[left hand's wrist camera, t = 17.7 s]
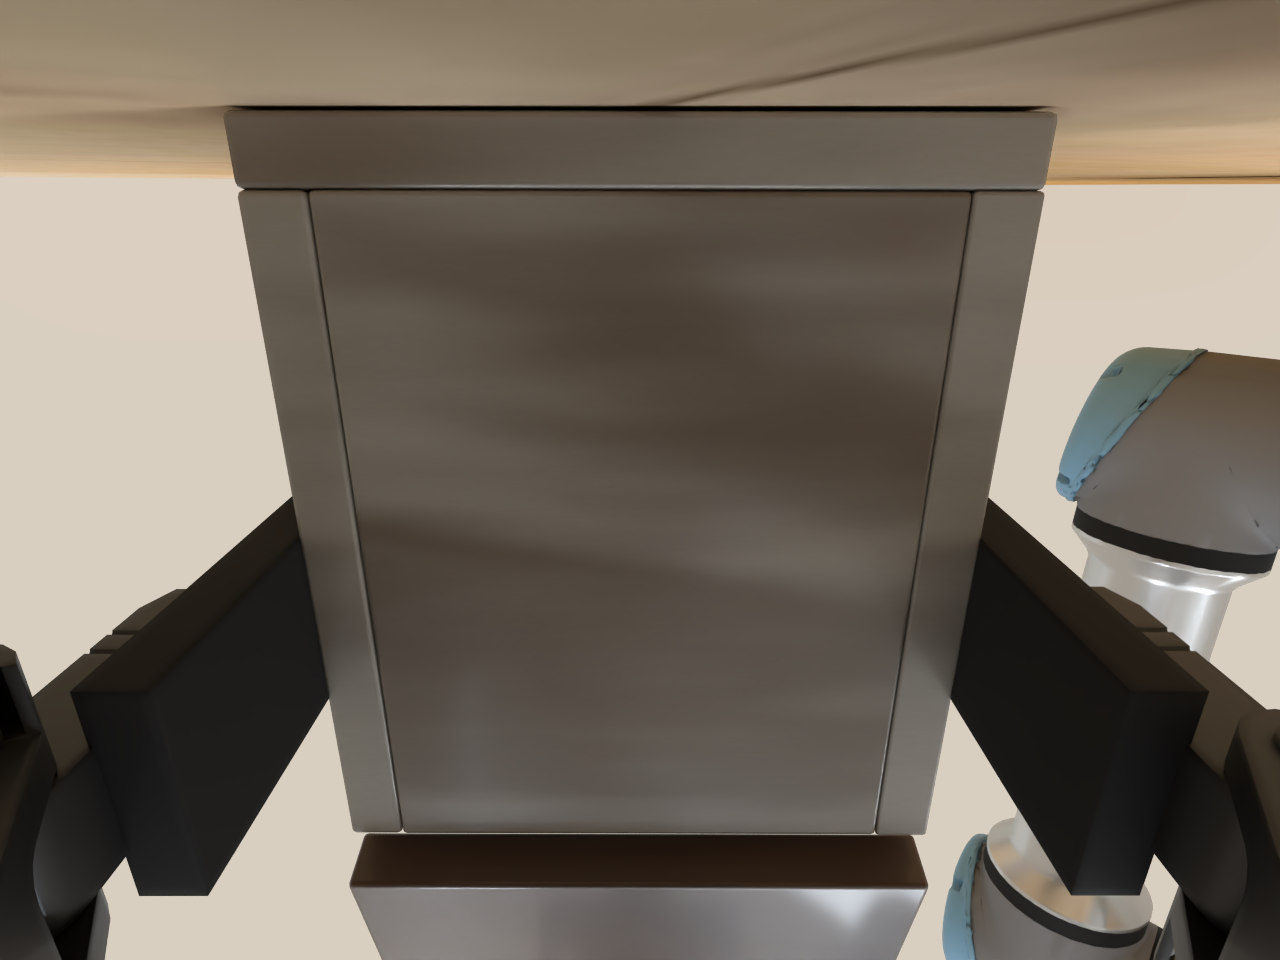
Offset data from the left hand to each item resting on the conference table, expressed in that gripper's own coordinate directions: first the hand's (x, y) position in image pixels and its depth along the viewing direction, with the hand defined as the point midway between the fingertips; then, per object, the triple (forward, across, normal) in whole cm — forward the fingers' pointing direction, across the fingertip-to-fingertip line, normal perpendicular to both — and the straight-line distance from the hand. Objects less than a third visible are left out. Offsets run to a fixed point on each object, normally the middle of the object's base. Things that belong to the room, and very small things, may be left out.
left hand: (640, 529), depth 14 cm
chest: (+6, 0, -7) cm, 9 cm away
